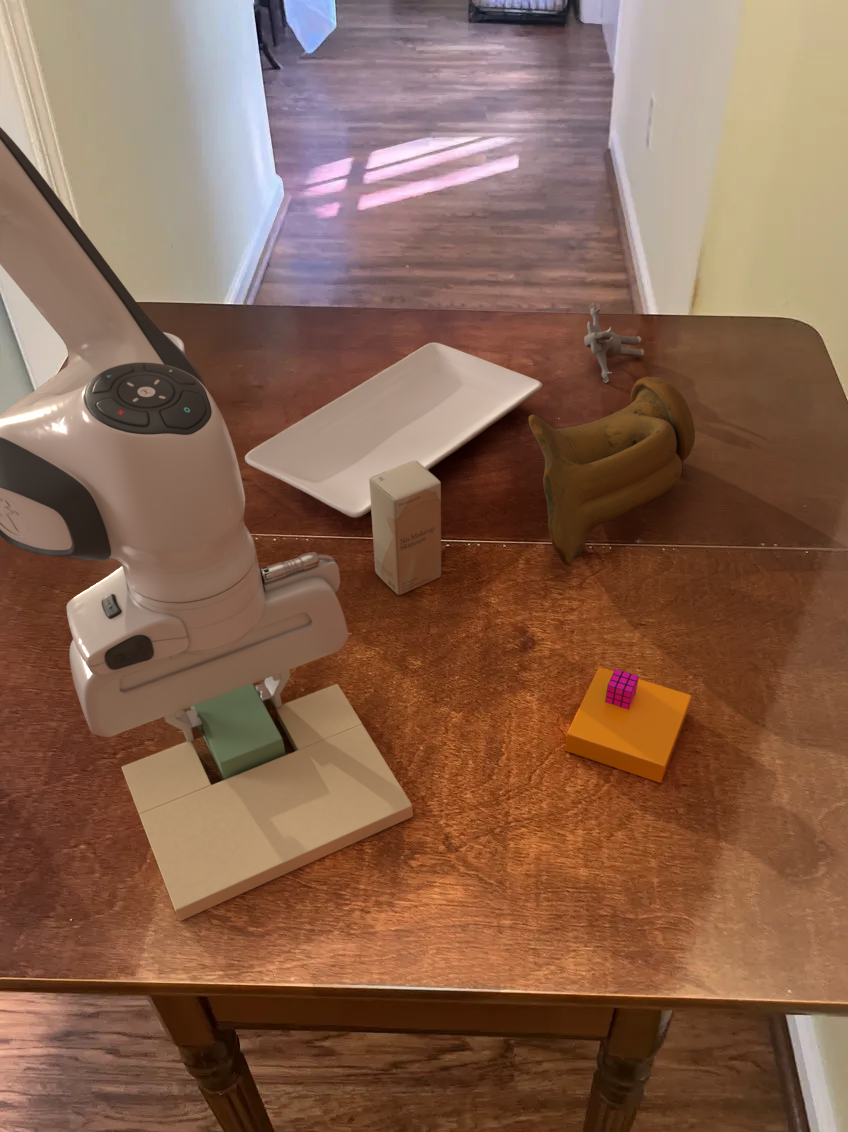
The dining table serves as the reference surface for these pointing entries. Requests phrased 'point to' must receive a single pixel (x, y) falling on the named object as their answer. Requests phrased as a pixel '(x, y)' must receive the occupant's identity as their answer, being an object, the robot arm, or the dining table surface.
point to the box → (406, 526)
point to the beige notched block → (265, 805)
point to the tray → (392, 424)
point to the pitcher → (612, 462)
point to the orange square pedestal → (628, 723)
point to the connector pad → (239, 731)
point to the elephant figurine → (608, 343)
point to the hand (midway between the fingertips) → (232, 718)
